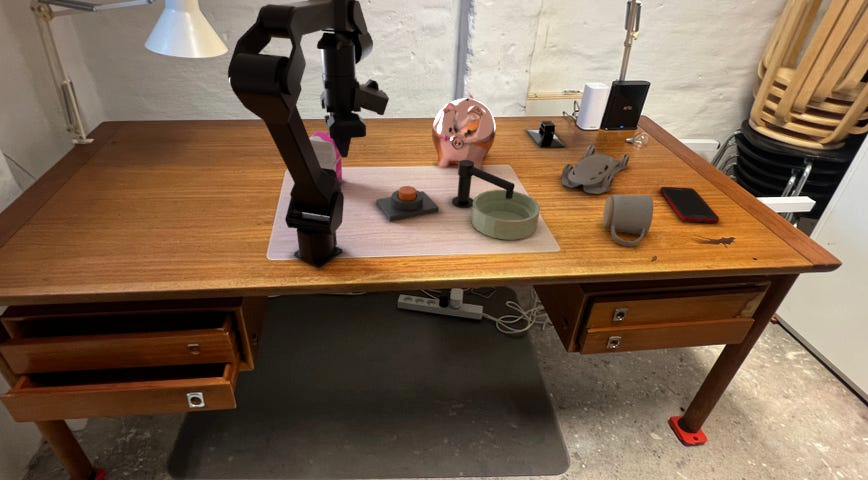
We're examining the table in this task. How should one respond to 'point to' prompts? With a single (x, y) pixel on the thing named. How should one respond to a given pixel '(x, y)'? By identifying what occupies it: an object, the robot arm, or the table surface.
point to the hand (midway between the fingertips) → (344, 156)
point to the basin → (505, 214)
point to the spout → (484, 176)
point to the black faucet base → (463, 194)
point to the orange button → (407, 193)
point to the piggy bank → (463, 132)
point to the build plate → (546, 136)
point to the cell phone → (689, 205)
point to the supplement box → (327, 152)
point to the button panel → (406, 206)
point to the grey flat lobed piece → (593, 172)
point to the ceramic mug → (628, 216)
